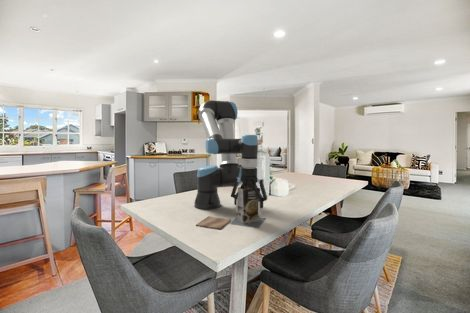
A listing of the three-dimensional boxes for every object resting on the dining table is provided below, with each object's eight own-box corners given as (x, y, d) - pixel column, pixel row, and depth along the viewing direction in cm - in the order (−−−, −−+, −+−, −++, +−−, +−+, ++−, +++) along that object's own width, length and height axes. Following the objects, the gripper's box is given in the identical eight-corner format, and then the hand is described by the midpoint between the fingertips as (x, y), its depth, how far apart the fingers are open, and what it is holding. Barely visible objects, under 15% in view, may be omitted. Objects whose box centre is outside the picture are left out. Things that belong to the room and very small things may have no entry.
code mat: (229, 223, 108) (229, 223, 108) (239, 214, 121) (239, 214, 121) (258, 228, 103) (258, 227, 103) (266, 218, 116) (266, 217, 116)
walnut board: (196, 225, 105) (196, 224, 105) (208, 217, 116) (208, 216, 116) (220, 229, 101) (220, 228, 101) (230, 220, 112) (230, 219, 112)
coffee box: (243, 224, 107) (243, 189, 106) (236, 219, 113) (237, 187, 112) (260, 221, 111) (260, 188, 110) (252, 217, 117) (253, 185, 116)
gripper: (223, 166, 111) (223, 212, 112) (271, 169, 103) (270, 218, 104) (229, 165, 118) (229, 208, 119) (274, 167, 110) (273, 213, 111)
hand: (248, 213), depth 112 cm, fingers closed on coffee box, 10 cm apart
